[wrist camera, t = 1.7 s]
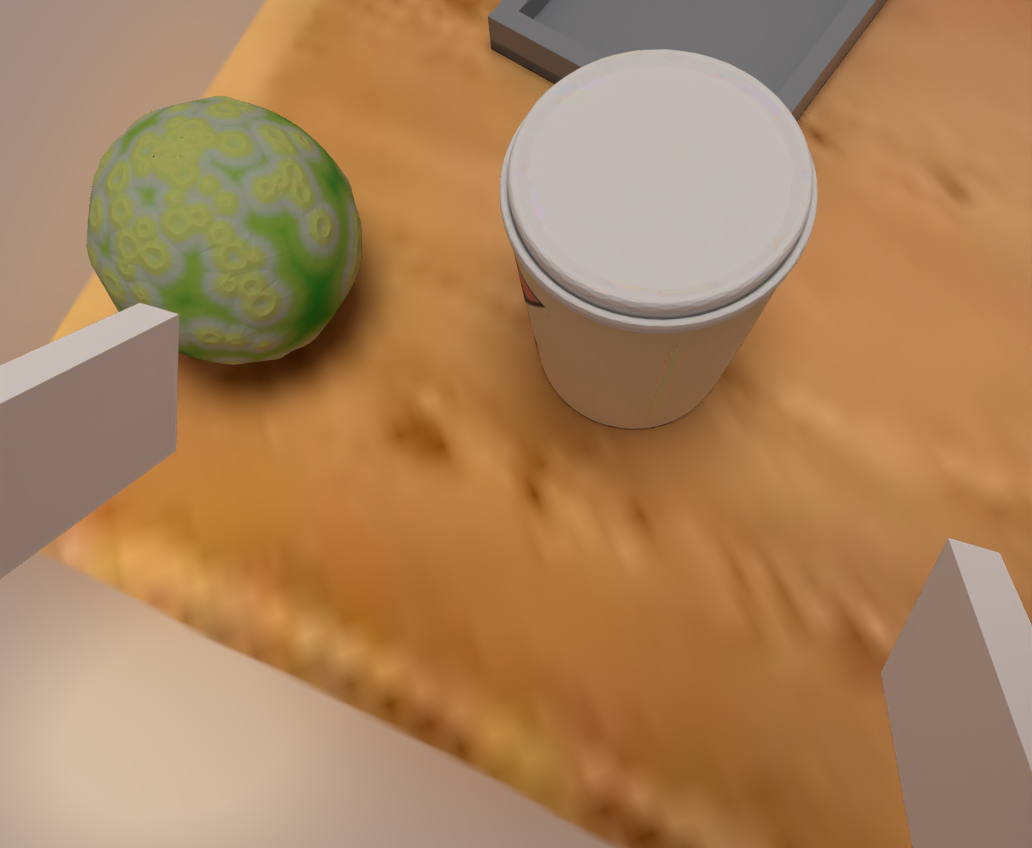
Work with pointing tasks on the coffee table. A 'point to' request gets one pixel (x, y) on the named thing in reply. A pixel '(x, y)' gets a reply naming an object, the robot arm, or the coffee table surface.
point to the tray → (689, 36)
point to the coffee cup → (652, 226)
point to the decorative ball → (225, 228)
